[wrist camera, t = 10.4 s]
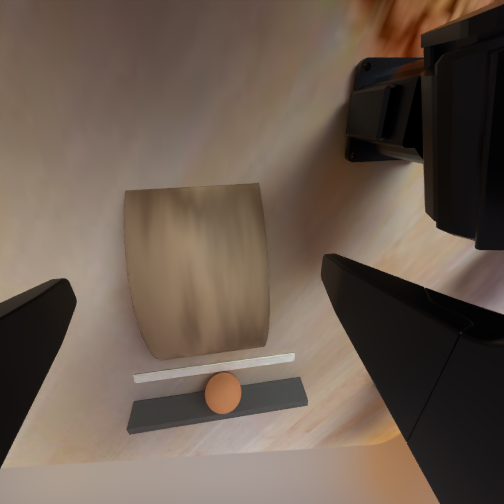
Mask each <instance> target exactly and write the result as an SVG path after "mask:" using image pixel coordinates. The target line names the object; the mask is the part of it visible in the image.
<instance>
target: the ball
mask: <svg viewBox="0 0 504 504" xmlns="http://www.w3.org/2000/svg"><path fill="white" fill-rule="evenodd" d="M205 399H206V403H207V405H208V406H209V408H210V409H211V410H212V411H214V412H216V413H218V414H226V413H229V412H231V411H233V410H234V409H235V408H236V407H237V405H238V404H239V402H240V399H241V386H240V383H239V381H238V379H237V378H236V377H235V376H233V375H232V374H230V373H219V374H216V375H215V376H213V377H212V378H211V379H210V380H209V382H208V384H207V386H206V389H205Z"/></svg>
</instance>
